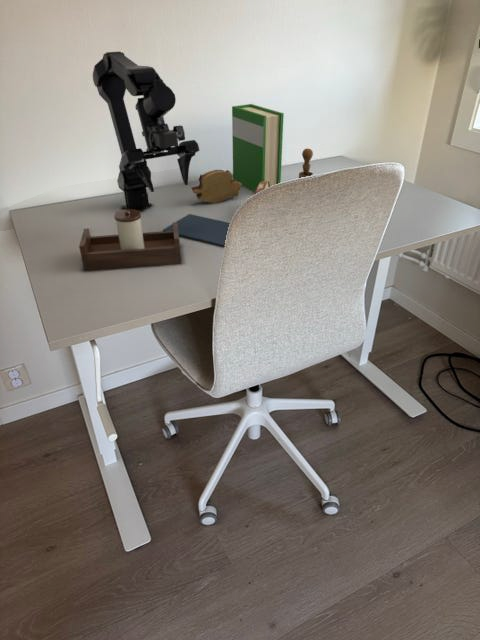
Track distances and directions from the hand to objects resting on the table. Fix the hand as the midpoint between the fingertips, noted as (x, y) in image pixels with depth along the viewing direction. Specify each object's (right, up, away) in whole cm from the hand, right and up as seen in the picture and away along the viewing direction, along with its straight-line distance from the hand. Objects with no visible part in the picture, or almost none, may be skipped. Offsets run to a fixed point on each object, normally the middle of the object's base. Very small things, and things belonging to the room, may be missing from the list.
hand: (169, 188), depth 117 cm
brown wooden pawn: (+37, 0, +24) cm, 44 cm away
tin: (+24, -1, +23) cm, 33 cm away
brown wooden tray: (-9, -18, -1) cm, 20 cm away
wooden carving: (+10, +4, +31) cm, 33 cm away
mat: (+8, -8, +13) cm, 17 cm away
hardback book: (+23, +13, +43) cm, 50 cm away
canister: (-9, -15, -2) cm, 18 cm away
